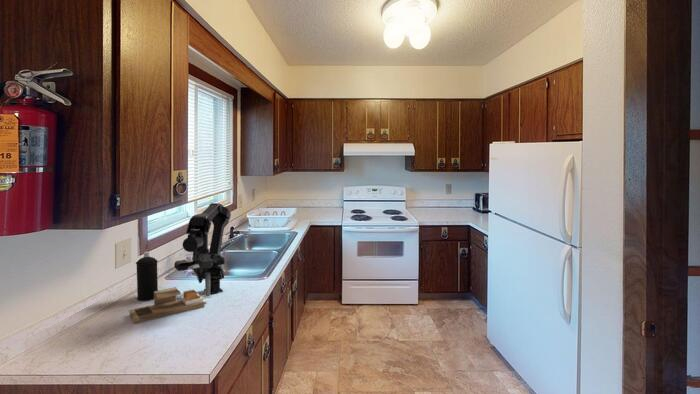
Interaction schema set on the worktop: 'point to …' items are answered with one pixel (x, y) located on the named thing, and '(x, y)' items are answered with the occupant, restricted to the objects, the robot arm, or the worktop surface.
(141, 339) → the worktop surface
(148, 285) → the aerosol can
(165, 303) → the tan piece
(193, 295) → the block
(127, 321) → the worktop surface
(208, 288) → the sled
